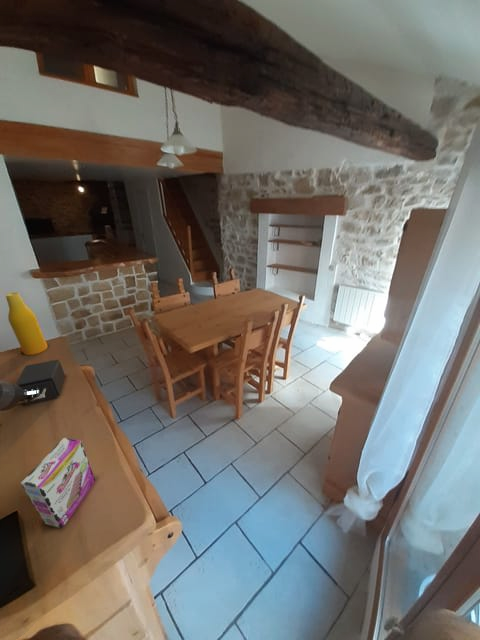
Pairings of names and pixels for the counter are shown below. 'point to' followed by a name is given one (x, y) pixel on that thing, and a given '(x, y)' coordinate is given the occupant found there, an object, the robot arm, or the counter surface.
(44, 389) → the drawer
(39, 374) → the dark grey cabinet
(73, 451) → the candy bar box
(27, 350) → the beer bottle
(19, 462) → the counter surface
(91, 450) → the counter surface
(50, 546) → the counter surface
